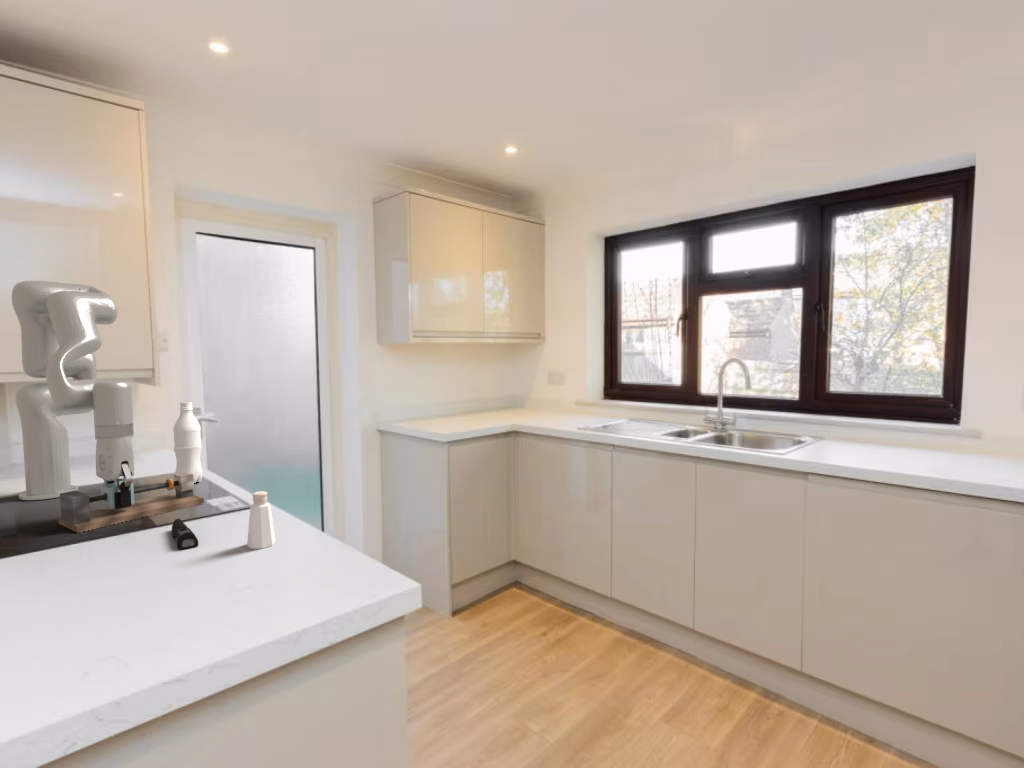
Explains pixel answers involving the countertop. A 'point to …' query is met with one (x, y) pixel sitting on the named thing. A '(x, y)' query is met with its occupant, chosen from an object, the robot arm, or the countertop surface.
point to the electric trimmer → (183, 536)
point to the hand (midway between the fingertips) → (118, 504)
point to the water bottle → (188, 442)
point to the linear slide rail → (83, 519)
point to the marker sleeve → (110, 491)
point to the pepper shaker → (260, 523)
